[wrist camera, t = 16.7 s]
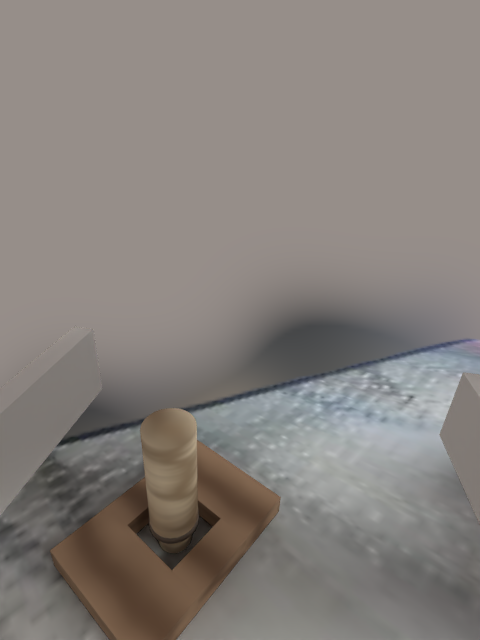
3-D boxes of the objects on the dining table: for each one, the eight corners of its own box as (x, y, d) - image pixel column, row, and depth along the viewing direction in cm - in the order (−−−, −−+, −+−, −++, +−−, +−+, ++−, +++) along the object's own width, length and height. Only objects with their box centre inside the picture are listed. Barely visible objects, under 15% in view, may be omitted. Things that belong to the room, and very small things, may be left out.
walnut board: (195, 451, 52) (194, 438, 51) (278, 511, 44) (280, 497, 43) (54, 565, 38) (49, 550, 36) (141, 682, 30) (139, 668, 29)
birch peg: (176, 506, 44) (171, 400, 37) (208, 534, 41) (209, 424, 34) (141, 539, 40) (127, 428, 33) (173, 572, 38) (165, 458, 30)
